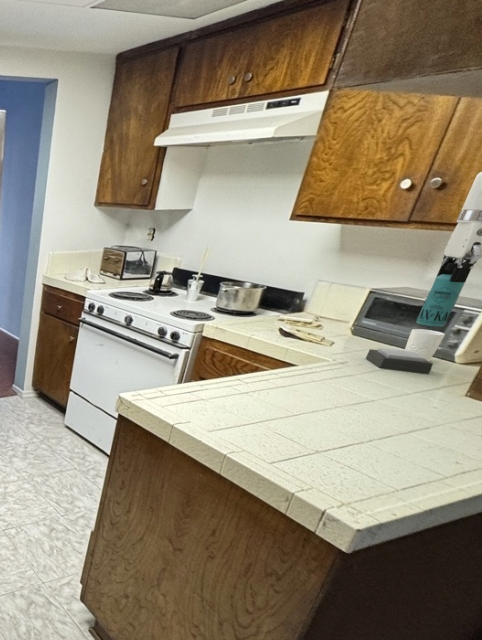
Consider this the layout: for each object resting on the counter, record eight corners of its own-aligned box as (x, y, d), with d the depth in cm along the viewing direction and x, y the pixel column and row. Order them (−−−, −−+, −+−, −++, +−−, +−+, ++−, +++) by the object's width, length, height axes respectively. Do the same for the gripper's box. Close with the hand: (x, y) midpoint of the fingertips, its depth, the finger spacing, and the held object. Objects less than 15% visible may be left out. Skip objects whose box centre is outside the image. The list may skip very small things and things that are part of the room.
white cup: (417, 356, 168) (429, 329, 164) (438, 363, 161) (452, 335, 157) (393, 355, 169) (405, 328, 165) (413, 362, 161) (426, 334, 158)
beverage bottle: (411, 325, 150) (438, 261, 143) (441, 328, 147) (471, 263, 139) (415, 329, 146) (443, 263, 138) (446, 332, 142) (477, 264, 134)
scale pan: (411, 356, 158) (413, 351, 157) (424, 363, 150) (426, 358, 150) (376, 352, 162) (378, 347, 161) (387, 359, 154) (389, 354, 154)
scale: (411, 363, 160) (415, 354, 158) (428, 374, 150) (433, 363, 148) (365, 358, 165) (369, 349, 163) (379, 368, 155) (383, 358, 153)
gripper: (517, 217, 125) (485, 285, 132) (477, 217, 140) (450, 277, 146) (478, 217, 128) (448, 283, 135) (443, 216, 143) (418, 276, 149)
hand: (450, 279), depth 140 cm, fingers closed on beverage bottle, 6 cm apart
